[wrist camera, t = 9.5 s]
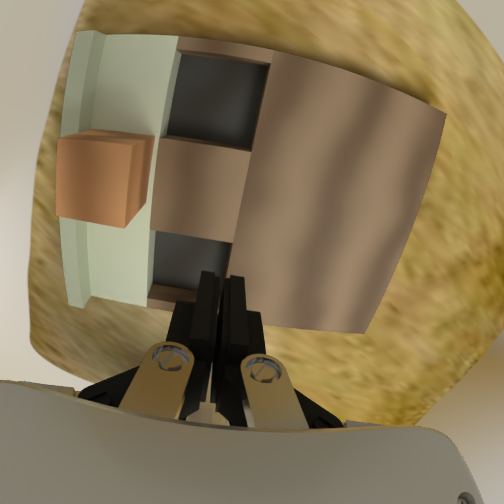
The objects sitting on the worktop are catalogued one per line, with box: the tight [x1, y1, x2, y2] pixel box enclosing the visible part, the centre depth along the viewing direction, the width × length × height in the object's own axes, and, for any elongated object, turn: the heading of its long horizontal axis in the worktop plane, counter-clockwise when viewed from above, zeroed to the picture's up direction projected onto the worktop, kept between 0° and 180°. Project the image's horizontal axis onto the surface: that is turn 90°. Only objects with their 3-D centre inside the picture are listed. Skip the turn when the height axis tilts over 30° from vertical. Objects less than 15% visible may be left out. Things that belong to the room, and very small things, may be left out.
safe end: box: [59, 30, 182, 309], centre depth 21 cm, size 7×22×4 cm, turn 168°
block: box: [56, 129, 155, 229], centre depth 18 cm, size 5×5×5 cm
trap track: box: [147, 36, 447, 334], centre depth 24 cm, size 21×22×2 cm
